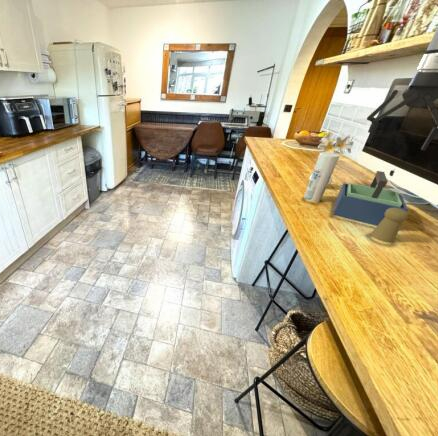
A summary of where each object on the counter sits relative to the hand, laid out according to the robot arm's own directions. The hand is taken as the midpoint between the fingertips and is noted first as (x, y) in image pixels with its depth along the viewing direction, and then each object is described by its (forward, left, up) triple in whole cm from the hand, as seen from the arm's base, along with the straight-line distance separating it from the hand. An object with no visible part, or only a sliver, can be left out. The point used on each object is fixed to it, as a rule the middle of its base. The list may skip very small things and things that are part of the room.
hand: (394, 146), depth 80 cm
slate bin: (-1, +1, -26) cm, 26 cm away
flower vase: (+15, -23, -26) cm, 38 cm away
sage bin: (-1, +1, -25) cm, 25 cm away
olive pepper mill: (-6, +17, -26) cm, 32 cm away
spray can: (+16, -3, -26) cm, 31 cm away
